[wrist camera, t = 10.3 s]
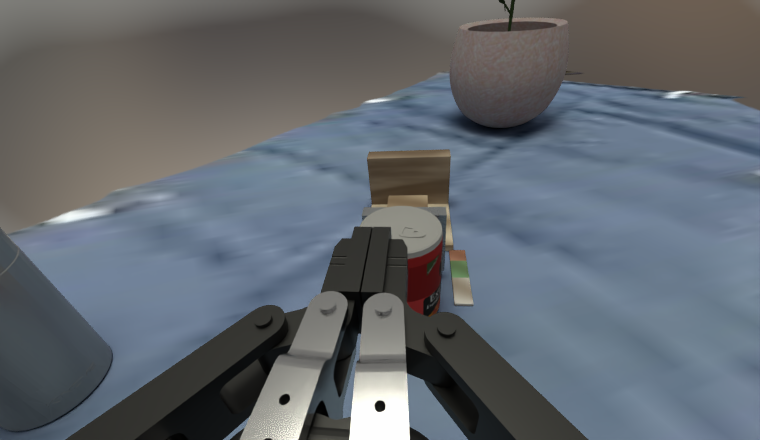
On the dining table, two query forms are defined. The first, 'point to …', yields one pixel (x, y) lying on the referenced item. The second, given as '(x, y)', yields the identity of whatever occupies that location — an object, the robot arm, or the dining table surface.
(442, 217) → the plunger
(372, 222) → the canned food
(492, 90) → the plant pot
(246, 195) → the dining table surface
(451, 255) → the wooden stand
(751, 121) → the dining table surface
